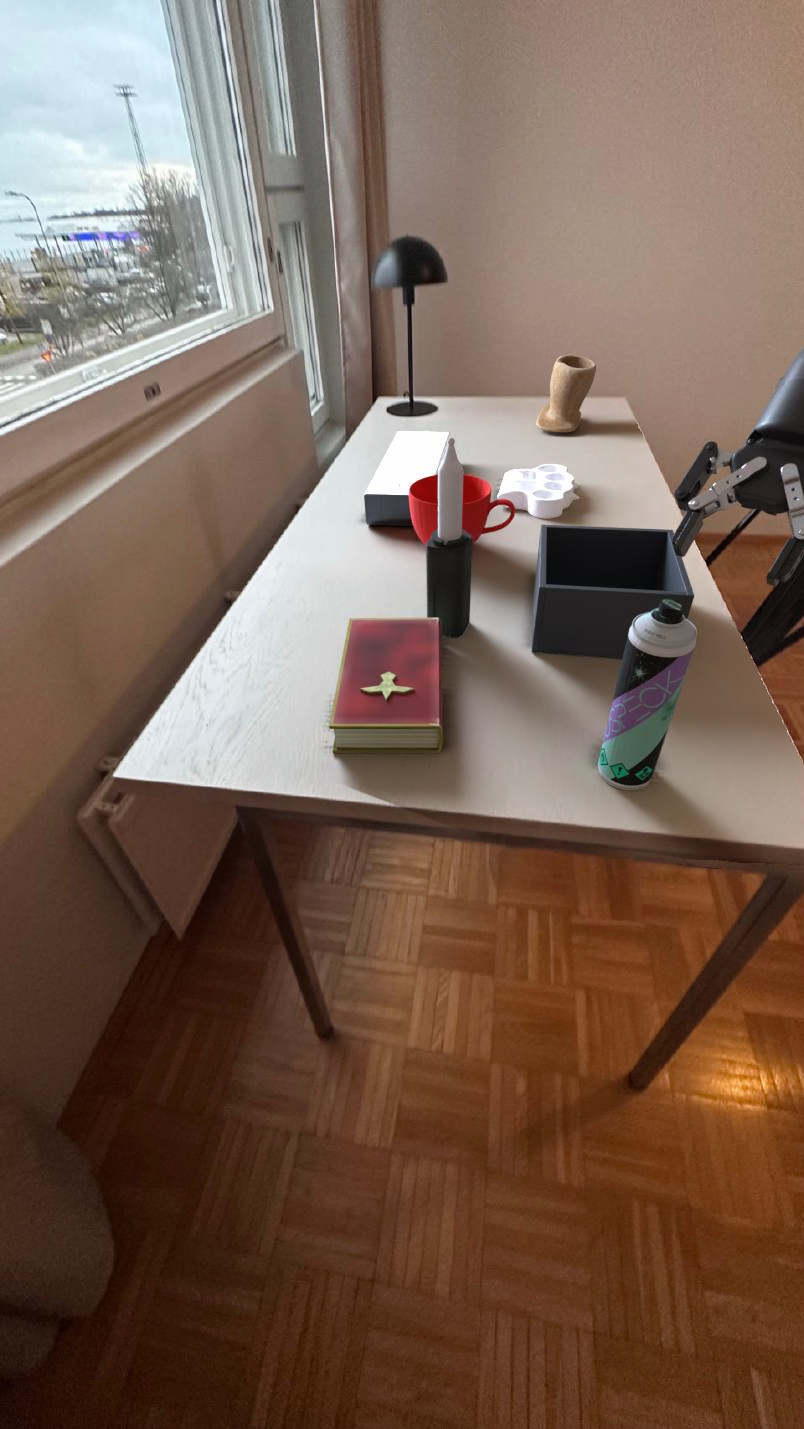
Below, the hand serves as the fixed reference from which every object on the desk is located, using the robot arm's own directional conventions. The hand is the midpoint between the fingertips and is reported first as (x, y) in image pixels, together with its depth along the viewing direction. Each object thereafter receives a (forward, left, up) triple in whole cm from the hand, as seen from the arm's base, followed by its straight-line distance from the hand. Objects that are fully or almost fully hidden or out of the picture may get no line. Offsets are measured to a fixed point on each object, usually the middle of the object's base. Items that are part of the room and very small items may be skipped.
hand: (722, 567), depth 58 cm
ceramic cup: (+39, -30, -20) cm, 53 cm away
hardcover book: (+31, +8, -20) cm, 38 cm away
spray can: (+3, +9, -20) cm, 22 cm away
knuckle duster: (+34, -55, -20) cm, 67 cm away
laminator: (+58, -48, -20) cm, 78 cm away
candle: (+31, -8, -20) cm, 37 cm away
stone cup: (+43, -98, -20) cm, 109 cm away
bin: (+13, -18, -19) cm, 29 cm away
